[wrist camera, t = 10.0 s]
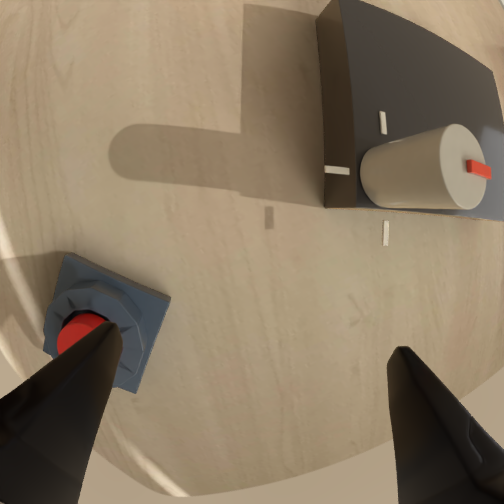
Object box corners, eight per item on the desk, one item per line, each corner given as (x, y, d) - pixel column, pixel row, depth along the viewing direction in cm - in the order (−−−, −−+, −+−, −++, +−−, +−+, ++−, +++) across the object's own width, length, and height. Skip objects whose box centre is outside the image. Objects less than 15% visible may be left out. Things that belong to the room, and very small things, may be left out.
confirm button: (110, 372, 15) (104, 387, 13) (63, 349, 14) (52, 363, 12) (125, 327, 15) (118, 339, 13) (74, 303, 14) (62, 313, 12)
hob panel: (296, 239, 19) (324, 246, 15) (291, 15, 17) (311, -16, 13) (478, 240, 23) (510, 245, 19) (466, 80, 21) (493, 70, 17)
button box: (138, 385, 18) (132, 410, 15) (49, 344, 16) (31, 362, 13) (171, 297, 18) (167, 312, 15) (71, 251, 16) (52, 259, 13)
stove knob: (359, 205, 15) (446, 205, 9) (359, 140, 15) (440, 111, 8) (408, 210, 16) (492, 213, 10) (407, 151, 15) (488, 134, 9)
